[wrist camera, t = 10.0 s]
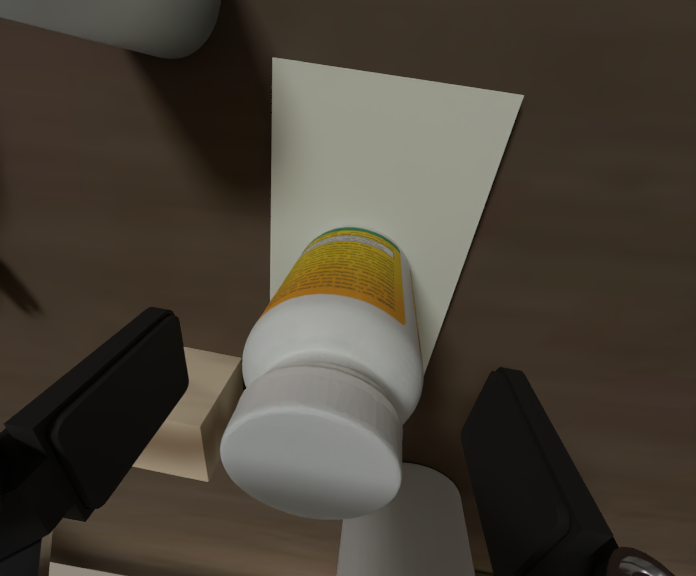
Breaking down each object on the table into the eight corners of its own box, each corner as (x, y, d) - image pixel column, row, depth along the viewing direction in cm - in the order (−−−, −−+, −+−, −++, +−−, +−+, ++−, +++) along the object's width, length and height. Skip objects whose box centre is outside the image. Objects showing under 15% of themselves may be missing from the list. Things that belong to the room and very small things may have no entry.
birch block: (244, 409, 22) (208, 482, 18) (176, 396, 22) (124, 464, 18) (242, 357, 19) (199, 426, 15) (165, 342, 20) (102, 406, 15)
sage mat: (413, 396, 19) (413, 403, 19) (272, 369, 19) (269, 375, 19) (518, 96, 11) (524, 95, 11) (276, 59, 12) (272, 57, 11)
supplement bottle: (428, 296, 15) (477, 521, 7) (335, 334, 17) (283, 548, 9) (377, 198, 13) (357, 344, 5) (278, 252, 15) (136, 428, 6)
